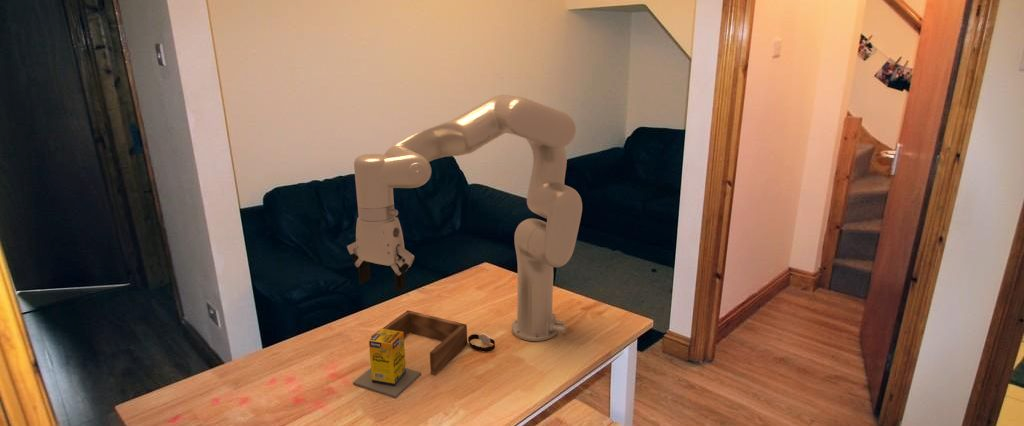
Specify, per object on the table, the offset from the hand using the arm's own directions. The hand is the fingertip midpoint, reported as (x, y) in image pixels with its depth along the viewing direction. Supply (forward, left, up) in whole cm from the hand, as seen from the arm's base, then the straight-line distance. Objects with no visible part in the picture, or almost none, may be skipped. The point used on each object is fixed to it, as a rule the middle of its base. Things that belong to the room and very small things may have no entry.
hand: (382, 285), depth 119 cm
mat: (0, +1, -23) cm, 23 cm away
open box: (0, -12, -23) cm, 26 cm away
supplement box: (-1, +1, -23) cm, 23 cm away
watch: (-13, -21, -24) cm, 34 cm away
